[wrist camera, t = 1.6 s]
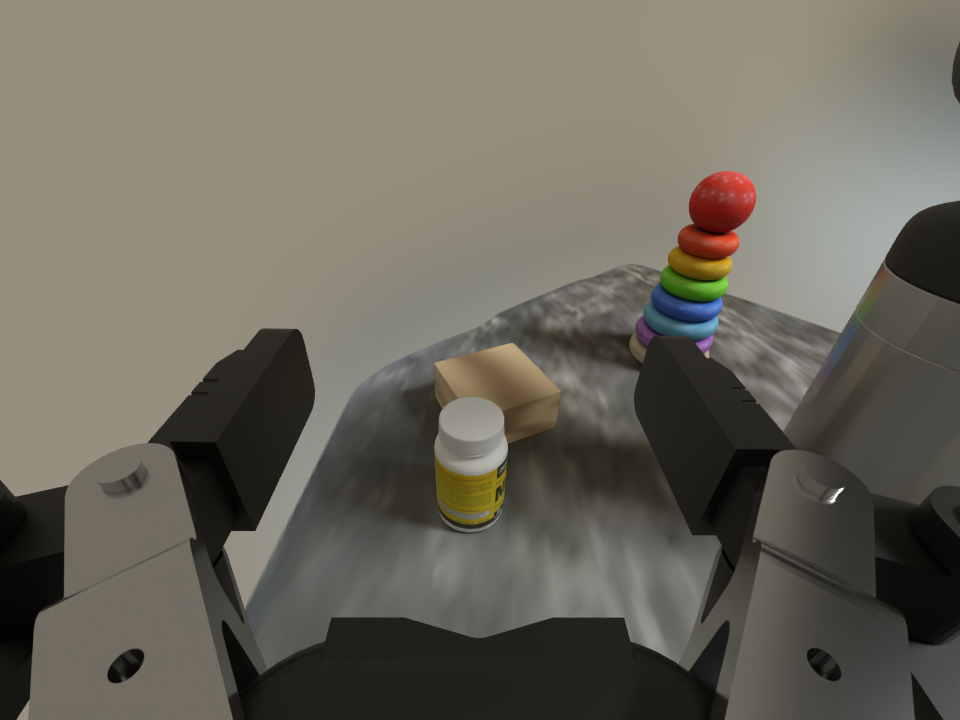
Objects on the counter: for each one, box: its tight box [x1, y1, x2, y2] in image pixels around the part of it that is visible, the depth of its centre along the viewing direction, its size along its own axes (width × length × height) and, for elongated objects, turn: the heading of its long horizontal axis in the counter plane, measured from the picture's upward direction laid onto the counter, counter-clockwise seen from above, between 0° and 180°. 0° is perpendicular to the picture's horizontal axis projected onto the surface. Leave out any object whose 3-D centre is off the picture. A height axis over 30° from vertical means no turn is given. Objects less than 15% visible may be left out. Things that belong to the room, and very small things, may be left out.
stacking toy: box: [629, 171, 756, 364], centre depth 41 cm, size 8×8×19 cm
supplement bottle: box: [434, 397, 508, 532], centre depth 28 cm, size 5×5×8 cm
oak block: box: [434, 343, 561, 444], centre depth 38 cm, size 8×8×4 cm
